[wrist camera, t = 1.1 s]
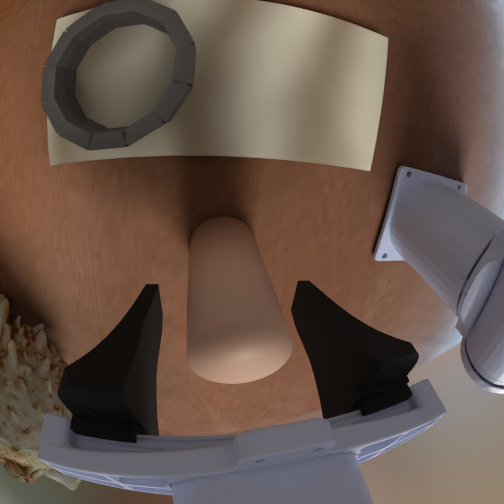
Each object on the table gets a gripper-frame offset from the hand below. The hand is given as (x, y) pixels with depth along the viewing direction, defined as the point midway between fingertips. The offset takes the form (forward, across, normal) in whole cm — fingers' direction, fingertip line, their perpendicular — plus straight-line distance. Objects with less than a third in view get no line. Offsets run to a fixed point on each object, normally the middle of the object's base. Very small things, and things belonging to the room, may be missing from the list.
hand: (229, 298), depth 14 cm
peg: (+5, 0, 0) cm, 5 cm away
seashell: (+6, +21, +11) cm, 24 cm away
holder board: (+5, +1, -11) cm, 12 cm away
